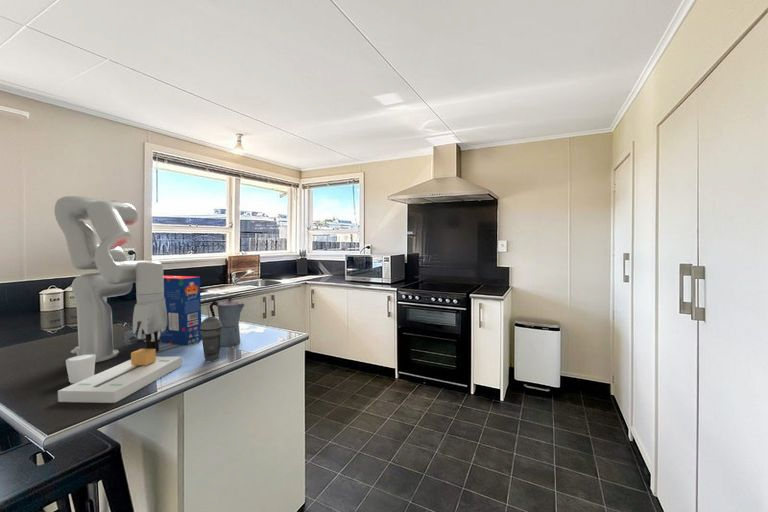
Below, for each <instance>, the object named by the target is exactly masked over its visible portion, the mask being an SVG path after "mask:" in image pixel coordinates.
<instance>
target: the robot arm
mask: <svg viewBox="0 0 768 512" xmlns="http://www.w3.org/2000/svg"><path fill="white" fill-rule="evenodd" d="M53 211H54V217H55V220H56V223H57V224H58V226H59V228H60V229H61V231H62V233H63V234H64V237H65V240H66V241H65V242H66V246H67V248H68V253H69V257H70V261H71V264H72V266H73V267H74V269H75V270H77V271H82V272H83V271H84V272H85V271H89V272H90V271H91V273H85V274H81V275H78V276H77V277H75V278H74V279H73V281H72V283H71V291H72V293H73V297H74V301H75V305H76V317H77V340H78V346H75V347H74V349H72V350H70V353H71V354H76V356H79V355H85V354H95V355H96V357H95V364H96V363H100V362H105V361H107V360H108V361H109V360H111V359H113V358H116V357H117V356H119V354H120V351H119V350H118V349H114V334H113V333H114V332H113V330H114V329H113V310H112V307H111V306H110V304H109V303H108V302H106V300H104V299H106V298H111V297H119V296H125V295H127V294H130V293H131V291H132V290H133V286H134V285H133V284H134V283H135V291H136V294H135V295H136V303H135V304H134V308H133V313H132V314H133V315H132V333H133V334H134V335H137V339H138V340H139V339H144V340H143V341H144V342H145V349H156V353H158V352H160V342H159V339H160V335H161V333H162V332H163V331H165V327H166V326H167V310H166V304H165V300H164V277H163V276H164V264H163V263H162V262H160V261H153V260H152V261H150V260H128V258H127V254H126V253H125V251H124V249H123V248H122V246H123V245H125V244H127V243H128V242H129V241H130V240H132V239H131V238H132V233H131V231H130V230H129V227H128V226H133V225H135V224H136V223H138V219H139V213H138V211H137V209H136V208H135V206H134V205H132V204H131V203H128V202H122V201H117V200H112V199H106V198H105V199H104V198H97V197H88V196H79V195H66V196H62V197H59V198H58V199H57V200H56V202H55V204H54V210H53ZM84 221H90V222H91V224H92V226H93V228H94V229H93V228H92V227H91V225H89V224H88V223H86V222H84ZM97 236H98V237H97ZM98 238H99V239H100V242H99V240H98ZM92 271H98V272H93V273H92Z"/></svg>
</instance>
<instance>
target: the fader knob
mask: <svg viewBox="0 0 768 512" xmlns="http://www.w3.org/2000/svg"><path fill="white" fill-rule="evenodd" d="M156 353H157V352H156V349H146V348H139V349H138V350H134V351H131V353H130V360H131V365H148V364H150V363H152V362H154V361H156V357H157V355H156Z"/></svg>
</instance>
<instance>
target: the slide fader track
mask: <svg viewBox="0 0 768 512" xmlns="http://www.w3.org/2000/svg"><path fill="white" fill-rule="evenodd" d="M182 366H183V357H182V356H156V361H154V362H152V363H150V364H148V365H131V359H128V360H125V361H123V362H122V363H120V364H118V365H115V366H113V367H109V368H108V369H105V370H104V371H101V372H99V373H96V374H94V375H93V376H91V377H89V378H86V379H84V380H82V381H80V382H77V383H72V384H70V385H68V386H65V387H64V388H62V389H59V390H57V402H58V403H101V404H102V403H103V404H104V403H105V404H108V403H109V404H115V403H117V402H120V401H121V400H123V399H125V398H126V397H129V396H130V395H133V393H135V392H137V391H139V390H141V389H142V388H145V387H147V386H148V385H149V384H152V383H153V382H155V381H157V380H159V379H160V377H161V378H162V377H164V376H166V375H168V374H170V373H171V372H173V371H175V370H177V369H178V367H179V368H180V367H182ZM169 372H170V373H169ZM167 373H168V374H167ZM165 374H166V375H165ZM163 375H164V376H163ZM158 378H159V379H158Z"/></svg>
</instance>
